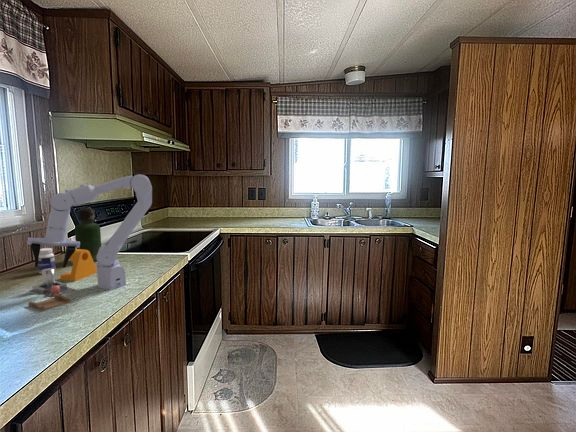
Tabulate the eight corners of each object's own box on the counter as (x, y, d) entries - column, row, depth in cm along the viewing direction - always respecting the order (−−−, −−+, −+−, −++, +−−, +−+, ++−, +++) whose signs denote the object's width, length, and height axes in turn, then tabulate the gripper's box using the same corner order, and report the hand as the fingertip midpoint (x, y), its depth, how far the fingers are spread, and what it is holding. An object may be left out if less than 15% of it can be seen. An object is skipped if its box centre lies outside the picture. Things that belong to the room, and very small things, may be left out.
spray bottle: (74, 263, 150) (70, 210, 147) (80, 258, 160) (76, 207, 156) (99, 262, 153) (96, 209, 150) (104, 256, 163) (101, 207, 160)
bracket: (82, 274, 135) (80, 245, 134) (97, 275, 134) (95, 246, 132) (59, 282, 125) (56, 252, 123) (75, 283, 123) (73, 253, 122)
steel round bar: (58, 288, 116) (56, 268, 115) (46, 291, 113) (45, 271, 112) (52, 286, 117) (51, 267, 117) (41, 289, 114) (39, 270, 113)
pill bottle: (35, 274, 134) (33, 250, 133) (43, 270, 140) (41, 247, 138) (51, 273, 135) (49, 250, 134) (58, 269, 140) (56, 247, 139)
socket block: (77, 292, 114) (76, 286, 114) (51, 300, 107) (51, 293, 107) (56, 286, 121) (56, 280, 120) (31, 292, 114) (30, 286, 113)
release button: (61, 293, 111) (60, 286, 111) (53, 295, 109) (53, 288, 108) (57, 291, 112) (57, 284, 112) (49, 294, 110) (49, 287, 110)
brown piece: (70, 305, 103) (70, 298, 103) (42, 314, 96) (41, 307, 96) (57, 300, 107) (56, 293, 107) (28, 308, 100) (28, 302, 100)
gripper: (30, 227, 103) (22, 268, 103) (83, 232, 112) (76, 270, 112) (30, 223, 108) (23, 263, 109) (81, 228, 117) (74, 265, 118)
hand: (50, 266), depth 111 cm, fingers open, 7 cm apart
